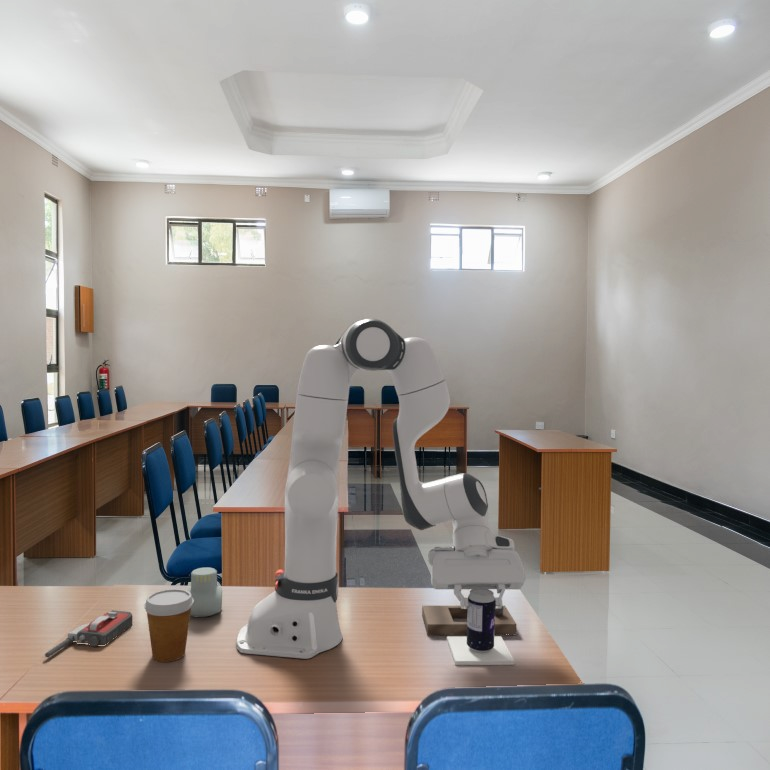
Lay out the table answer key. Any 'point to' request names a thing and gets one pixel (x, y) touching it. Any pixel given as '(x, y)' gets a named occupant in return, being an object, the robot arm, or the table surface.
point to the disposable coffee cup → (168, 623)
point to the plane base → (442, 622)
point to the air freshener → (205, 592)
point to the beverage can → (481, 620)
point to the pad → (469, 657)
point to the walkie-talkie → (98, 630)
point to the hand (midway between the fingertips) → (481, 607)
